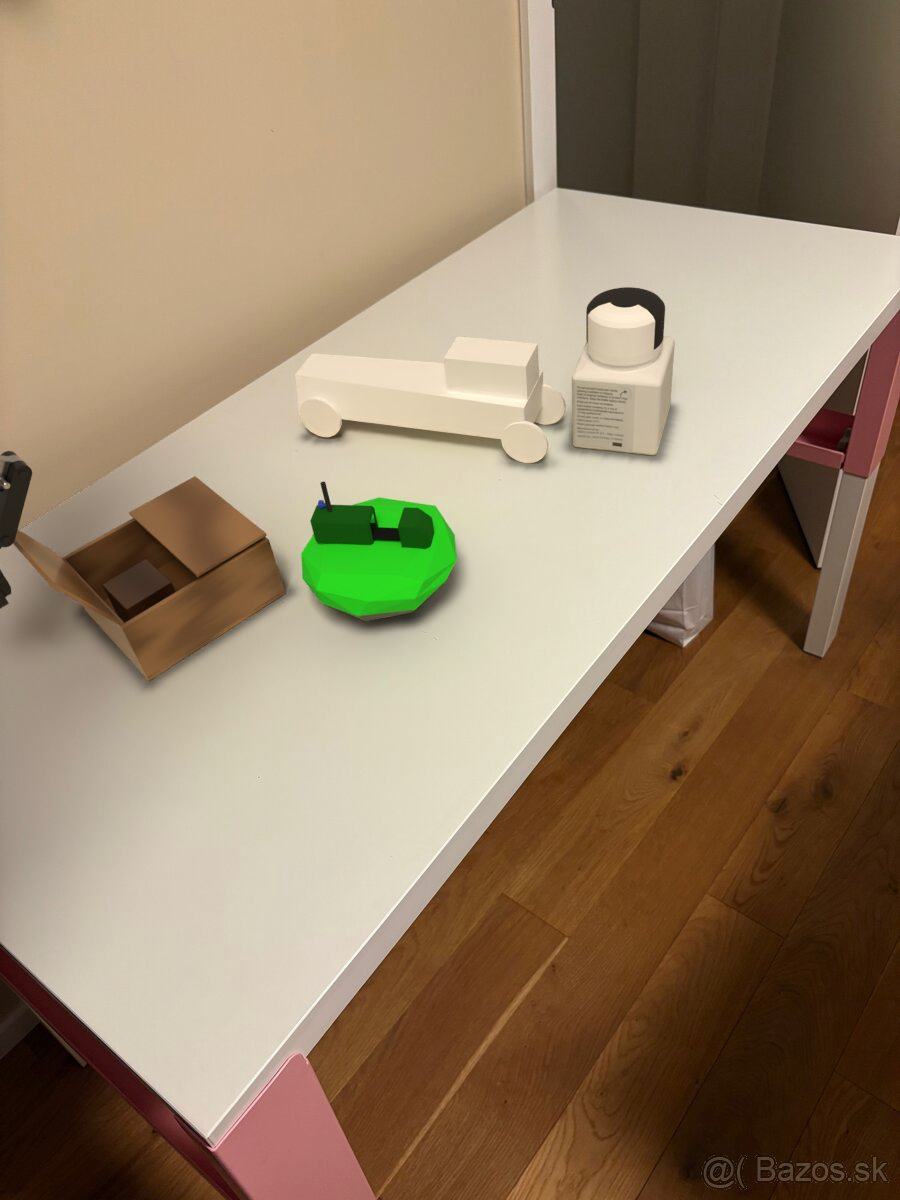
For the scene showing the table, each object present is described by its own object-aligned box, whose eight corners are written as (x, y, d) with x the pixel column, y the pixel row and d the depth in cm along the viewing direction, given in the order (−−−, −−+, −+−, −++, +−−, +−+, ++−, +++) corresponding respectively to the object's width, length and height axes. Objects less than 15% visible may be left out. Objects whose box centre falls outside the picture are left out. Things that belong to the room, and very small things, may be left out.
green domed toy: (297, 646, 73) (263, 539, 65) (336, 544, 81) (309, 438, 73) (450, 656, 71) (434, 546, 63) (474, 549, 79) (462, 441, 71)
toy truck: (566, 423, 90) (564, 336, 83) (546, 468, 85) (543, 380, 79) (329, 396, 97) (311, 314, 91) (299, 435, 93) (278, 352, 86)
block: (143, 644, 74) (126, 609, 71) (119, 619, 77) (101, 584, 74) (187, 617, 76) (171, 581, 73) (162, 593, 78) (146, 558, 75)
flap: (119, 620, 67) (117, 624, 67) (56, 552, 74) (53, 555, 74) (54, 583, 62) (51, 586, 62) (-9, 513, 68) (-12, 516, 68)
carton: (148, 681, 72) (118, 621, 67) (86, 611, 78) (54, 552, 74) (286, 593, 77) (266, 532, 73) (217, 534, 84) (195, 475, 79)
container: (589, 401, 92) (590, 275, 83) (670, 408, 90) (679, 279, 81) (571, 448, 87) (569, 319, 78) (656, 457, 85) (665, 326, 76)
